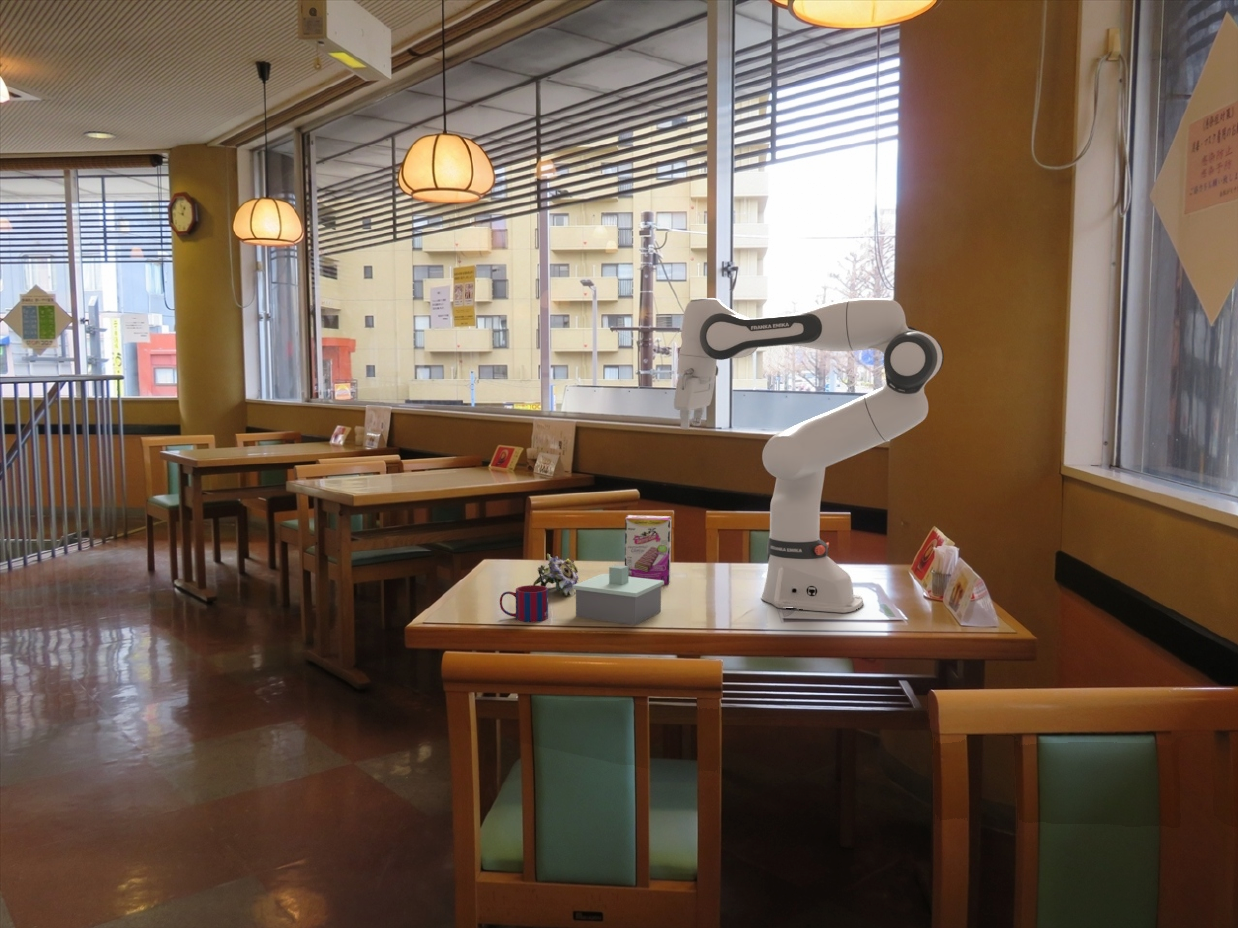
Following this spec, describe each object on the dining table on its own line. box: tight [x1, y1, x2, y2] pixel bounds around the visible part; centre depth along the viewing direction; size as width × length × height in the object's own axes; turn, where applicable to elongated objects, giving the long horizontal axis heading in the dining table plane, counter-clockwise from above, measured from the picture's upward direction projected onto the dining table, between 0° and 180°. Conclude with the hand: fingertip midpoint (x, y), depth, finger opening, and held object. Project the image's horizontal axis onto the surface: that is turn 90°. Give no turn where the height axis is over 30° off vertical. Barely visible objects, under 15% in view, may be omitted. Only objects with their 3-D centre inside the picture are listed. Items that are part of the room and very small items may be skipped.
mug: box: [499, 584, 549, 623], centre depth 198 cm, size 7×10×7 cm
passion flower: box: [532, 553, 579, 598], centre depth 220 cm, size 11×11×12 cm
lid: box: [573, 564, 665, 597], centre depth 200 cm, size 15×13×6 cm
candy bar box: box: [624, 514, 672, 586], centre depth 233 cm, size 11×5×16 cm, turn 84°
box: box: [575, 586, 662, 626], centre depth 201 cm, size 14×12×6 cm
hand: (690, 427), depth 222 cm, fingers open, 8 cm apart
